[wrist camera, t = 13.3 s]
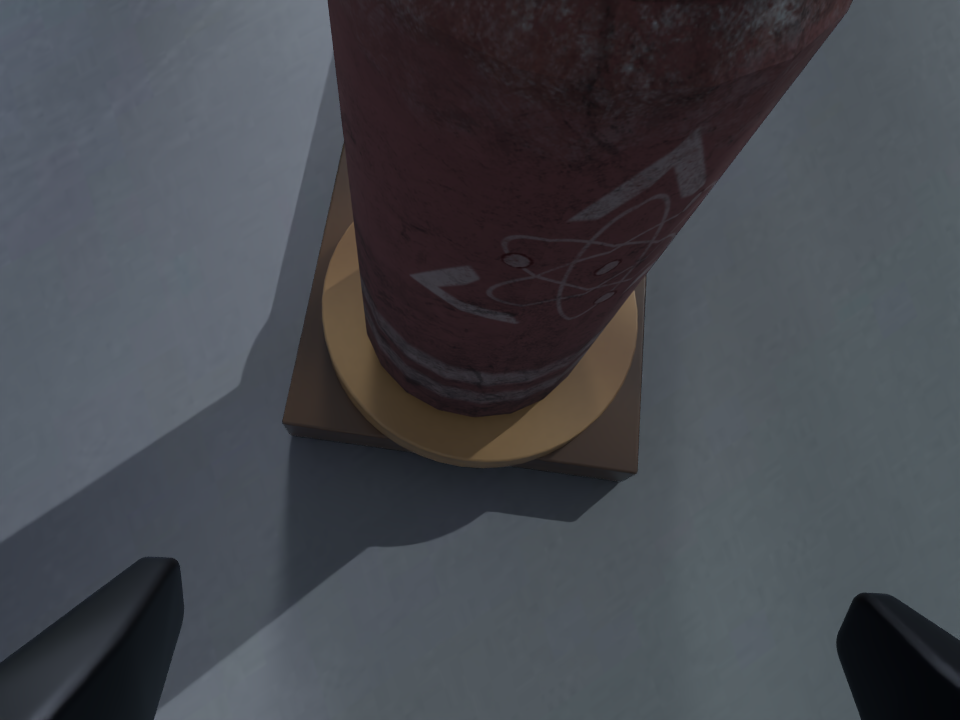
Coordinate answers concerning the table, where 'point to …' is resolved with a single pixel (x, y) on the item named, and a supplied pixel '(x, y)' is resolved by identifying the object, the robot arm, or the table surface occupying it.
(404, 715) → the table surface
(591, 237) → the can
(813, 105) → the table surface
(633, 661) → the table surface
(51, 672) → the robot arm
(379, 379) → the stand
